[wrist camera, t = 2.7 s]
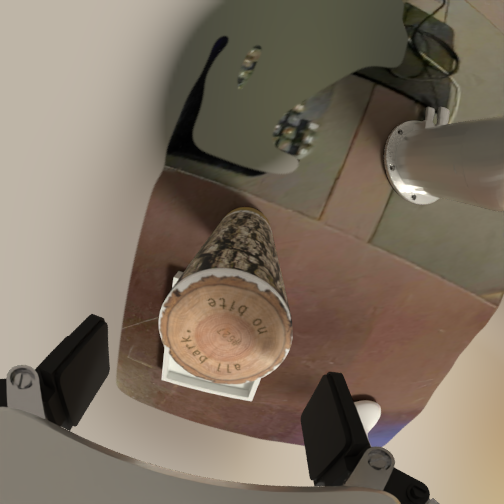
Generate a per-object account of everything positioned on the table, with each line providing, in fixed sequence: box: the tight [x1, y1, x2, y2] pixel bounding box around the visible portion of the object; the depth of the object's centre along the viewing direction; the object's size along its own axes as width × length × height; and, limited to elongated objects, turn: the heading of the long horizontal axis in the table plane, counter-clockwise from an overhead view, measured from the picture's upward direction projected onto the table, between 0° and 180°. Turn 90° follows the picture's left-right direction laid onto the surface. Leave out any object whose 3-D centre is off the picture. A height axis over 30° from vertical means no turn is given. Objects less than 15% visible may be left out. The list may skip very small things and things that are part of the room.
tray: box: [162, 271, 261, 401], centre depth 41 cm, size 20×16×2 cm
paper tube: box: [159, 207, 293, 385], centre depth 25 cm, size 7×7×25 cm
